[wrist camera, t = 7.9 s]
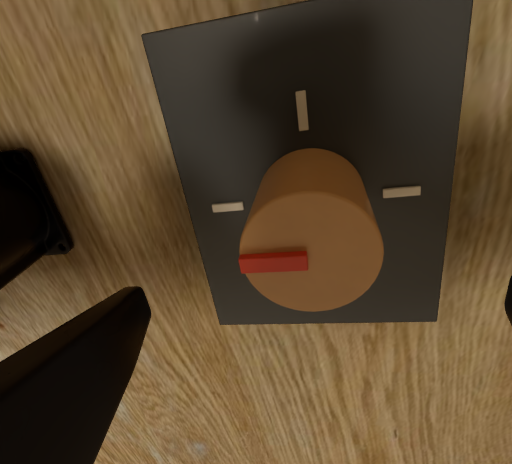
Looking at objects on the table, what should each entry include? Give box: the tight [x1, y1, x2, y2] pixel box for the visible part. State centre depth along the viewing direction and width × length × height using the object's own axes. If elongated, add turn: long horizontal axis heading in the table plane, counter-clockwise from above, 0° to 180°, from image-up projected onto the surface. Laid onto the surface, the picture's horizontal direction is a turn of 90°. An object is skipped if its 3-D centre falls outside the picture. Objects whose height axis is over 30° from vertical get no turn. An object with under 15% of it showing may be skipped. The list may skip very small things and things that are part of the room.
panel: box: [141, 0, 473, 325], centre depth 16 cm, size 14×11×3 cm
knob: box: [238, 148, 384, 312], centre depth 12 cm, size 4×4×5 cm
